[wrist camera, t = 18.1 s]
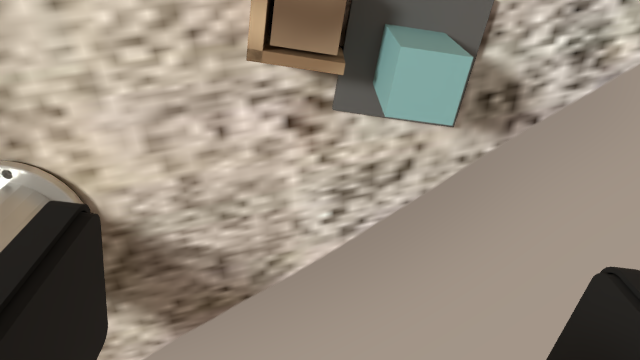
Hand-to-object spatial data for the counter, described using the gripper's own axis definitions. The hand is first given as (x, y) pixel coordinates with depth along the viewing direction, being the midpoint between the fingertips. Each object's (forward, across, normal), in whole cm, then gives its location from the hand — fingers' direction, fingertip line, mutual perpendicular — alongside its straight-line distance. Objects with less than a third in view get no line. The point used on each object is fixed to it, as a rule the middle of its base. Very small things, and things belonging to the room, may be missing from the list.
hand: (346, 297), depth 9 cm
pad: (+29, -7, +1) cm, 30 cm away
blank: (+28, -7, +1) cm, 29 cm away
